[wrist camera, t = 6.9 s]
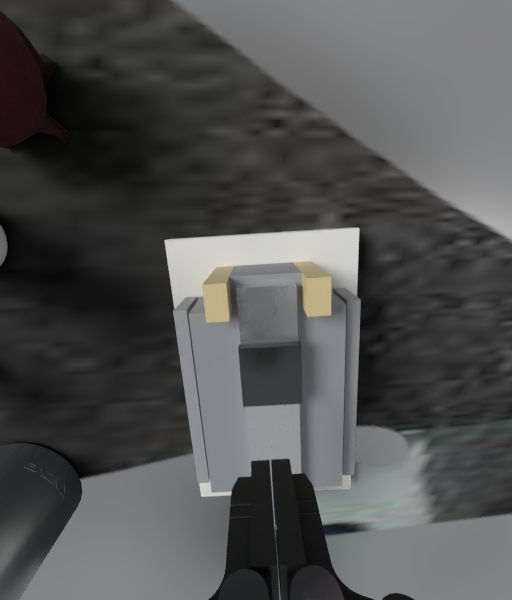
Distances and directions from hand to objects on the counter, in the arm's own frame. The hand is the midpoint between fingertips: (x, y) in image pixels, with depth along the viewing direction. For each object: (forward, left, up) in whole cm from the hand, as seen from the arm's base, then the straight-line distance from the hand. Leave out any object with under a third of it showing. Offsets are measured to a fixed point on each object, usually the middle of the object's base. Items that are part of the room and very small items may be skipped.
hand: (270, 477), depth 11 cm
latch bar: (-1, -2, -7) cm, 7 cm away
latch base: (-1, -2, -12) cm, 12 cm away
